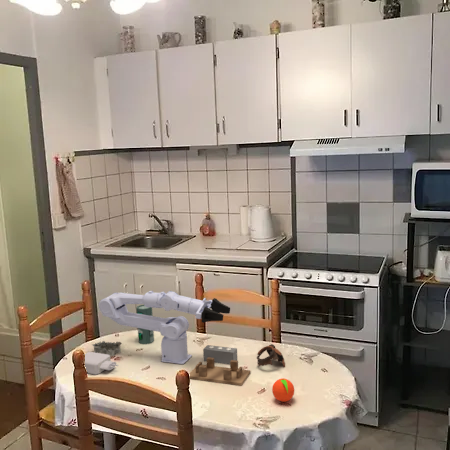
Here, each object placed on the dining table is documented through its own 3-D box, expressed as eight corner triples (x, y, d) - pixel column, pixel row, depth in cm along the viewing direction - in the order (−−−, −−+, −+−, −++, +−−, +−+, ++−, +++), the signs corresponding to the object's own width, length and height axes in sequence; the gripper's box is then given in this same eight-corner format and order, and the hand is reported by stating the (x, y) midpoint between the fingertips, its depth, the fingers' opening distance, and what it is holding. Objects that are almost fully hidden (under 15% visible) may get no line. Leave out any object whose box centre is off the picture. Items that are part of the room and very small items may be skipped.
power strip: (203, 361, 193) (203, 348, 192) (207, 357, 196) (207, 344, 195) (233, 365, 188) (233, 351, 187) (237, 361, 192) (236, 347, 191)
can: (141, 338, 218) (138, 304, 215) (155, 338, 217) (153, 304, 215) (137, 344, 212) (135, 309, 209) (151, 344, 211) (149, 309, 209)
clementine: (299, 405, 157) (298, 384, 156) (277, 409, 156) (276, 387, 155) (290, 393, 165) (289, 372, 164) (269, 396, 164) (269, 375, 163)
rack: (187, 378, 179) (186, 366, 178) (198, 366, 188) (197, 355, 187) (241, 385, 172) (241, 373, 171) (250, 373, 181) (250, 361, 180)
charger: (109, 378, 182) (75, 372, 188) (124, 367, 190) (91, 362, 196) (108, 365, 181) (74, 360, 187) (123, 355, 189) (90, 350, 195)
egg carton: (123, 352, 205) (122, 342, 204) (109, 358, 199) (108, 348, 198) (105, 346, 211) (104, 337, 210) (90, 352, 205) (90, 343, 204)
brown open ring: (288, 372, 182) (277, 355, 179) (264, 381, 184) (253, 365, 182) (286, 350, 193) (275, 334, 190) (264, 360, 195) (253, 344, 193)
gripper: (184, 302, 182) (220, 310, 178) (200, 289, 195) (233, 297, 191) (183, 320, 184) (218, 329, 180) (198, 307, 197) (231, 315, 193)
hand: (226, 314), depth 186 cm, fingers open, 7 cm apart
